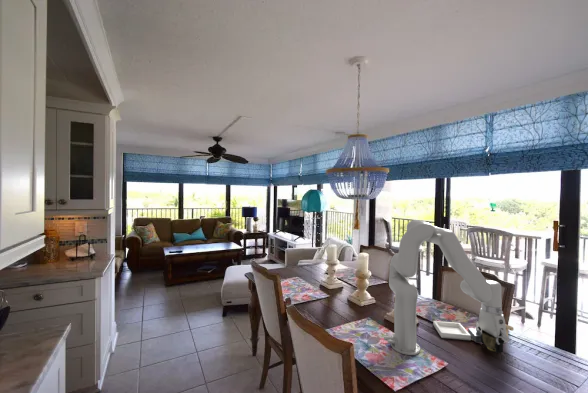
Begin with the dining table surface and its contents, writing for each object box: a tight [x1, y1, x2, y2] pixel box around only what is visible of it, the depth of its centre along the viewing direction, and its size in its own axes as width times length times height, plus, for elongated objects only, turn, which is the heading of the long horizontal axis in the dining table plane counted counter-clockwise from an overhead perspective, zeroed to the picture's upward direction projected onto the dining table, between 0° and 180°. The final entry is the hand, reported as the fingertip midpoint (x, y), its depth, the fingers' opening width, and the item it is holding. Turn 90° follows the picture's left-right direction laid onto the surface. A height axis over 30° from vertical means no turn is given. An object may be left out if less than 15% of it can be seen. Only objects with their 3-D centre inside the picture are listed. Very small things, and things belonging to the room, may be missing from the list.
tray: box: [432, 320, 472, 341], centre depth 137 cm, size 13×13×2 cm
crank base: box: [467, 327, 482, 344], centre depth 130 cm, size 8×8×3 cm
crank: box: [475, 324, 514, 338], centre depth 125 cm, size 15×4×8 cm, turn 29°
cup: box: [482, 330, 500, 353], centre depth 121 cm, size 8×7×8 cm
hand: (491, 347), depth 121 cm, fingers closed on cup, 6 cm apart
